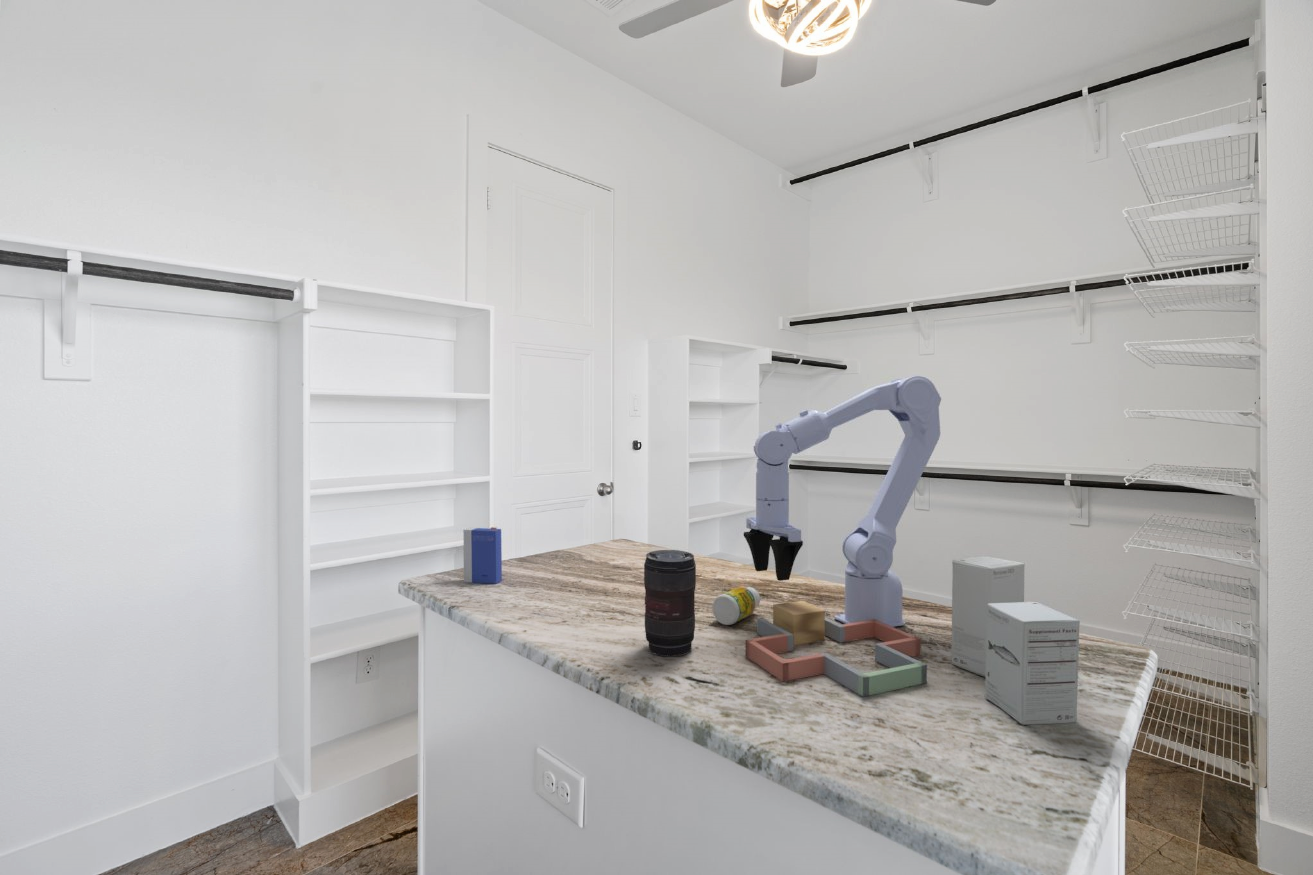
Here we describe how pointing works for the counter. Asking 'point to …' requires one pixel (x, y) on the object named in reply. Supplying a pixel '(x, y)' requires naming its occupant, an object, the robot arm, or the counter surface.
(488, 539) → the walkman
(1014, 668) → the supplement box
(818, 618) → the oak block
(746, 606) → the supplement bottle
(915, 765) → the counter surface
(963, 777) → the counter surface
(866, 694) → the plus maze
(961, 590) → the skincare box
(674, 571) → the camera lens
